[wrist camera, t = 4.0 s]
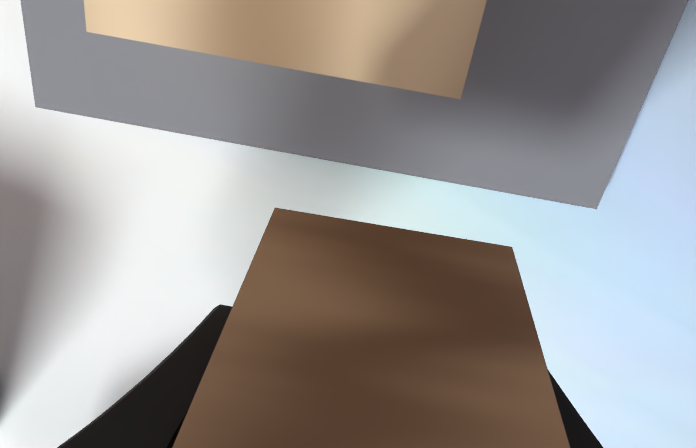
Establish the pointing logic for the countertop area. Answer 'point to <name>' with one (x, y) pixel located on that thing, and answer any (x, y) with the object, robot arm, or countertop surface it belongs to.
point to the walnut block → (375, 346)
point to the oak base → (313, 35)
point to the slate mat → (391, 96)
